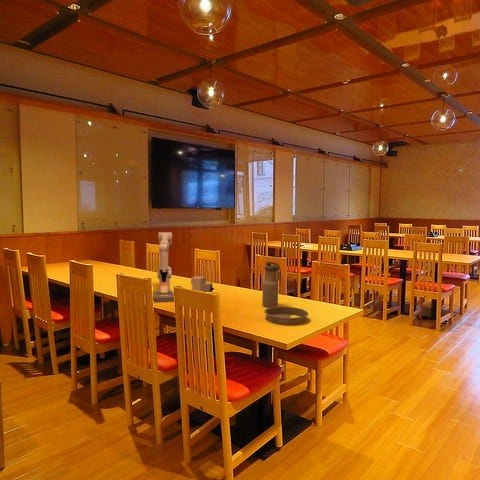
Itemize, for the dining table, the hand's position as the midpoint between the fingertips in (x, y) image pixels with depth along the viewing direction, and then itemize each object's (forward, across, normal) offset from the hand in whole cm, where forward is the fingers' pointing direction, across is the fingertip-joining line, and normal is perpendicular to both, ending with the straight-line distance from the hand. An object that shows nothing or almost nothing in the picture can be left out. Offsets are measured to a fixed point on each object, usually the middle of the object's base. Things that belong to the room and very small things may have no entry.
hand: (163, 281), depth 273 cm
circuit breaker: (+11, +15, +25) cm, 31 cm away
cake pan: (+12, +67, +65) cm, 94 cm away
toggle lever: (+6, +7, 0) cm, 10 cm away
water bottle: (+11, +37, +65) cm, 76 cm away
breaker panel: (+11, +9, 0) cm, 14 cm away
